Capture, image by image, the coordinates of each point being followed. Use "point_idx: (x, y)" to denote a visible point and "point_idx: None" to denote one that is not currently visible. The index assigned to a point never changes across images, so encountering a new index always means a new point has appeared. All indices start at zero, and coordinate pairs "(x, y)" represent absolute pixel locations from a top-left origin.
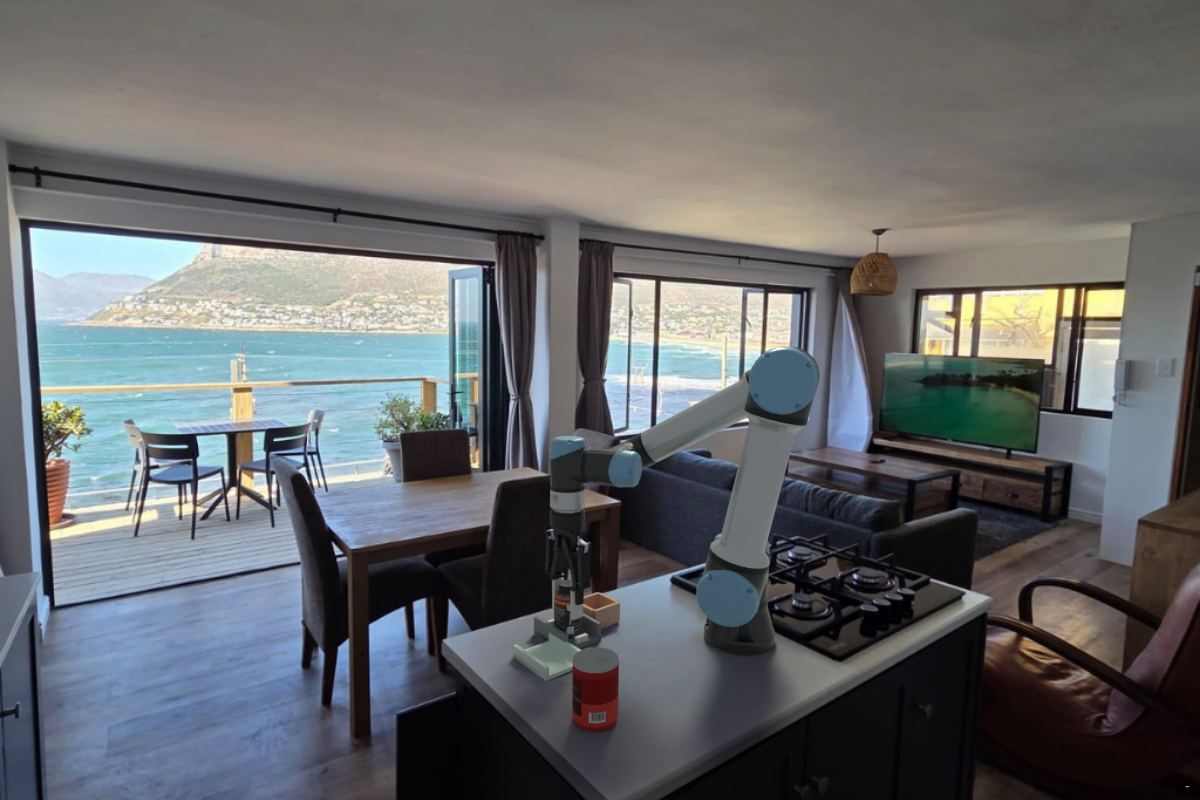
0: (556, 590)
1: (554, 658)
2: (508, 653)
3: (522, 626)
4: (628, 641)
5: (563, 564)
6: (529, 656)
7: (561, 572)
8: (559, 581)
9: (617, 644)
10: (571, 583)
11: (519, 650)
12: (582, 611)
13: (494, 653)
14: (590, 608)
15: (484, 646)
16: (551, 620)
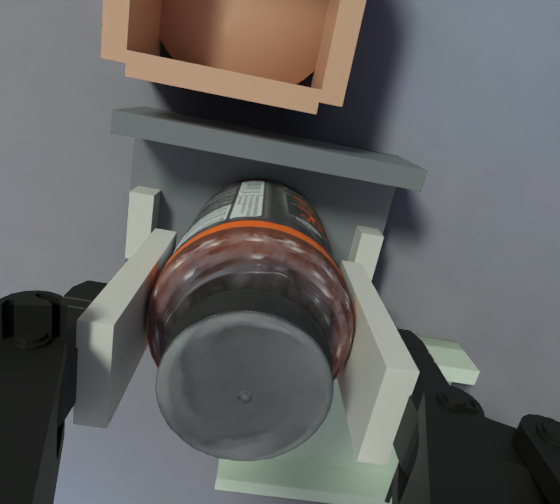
0: (136, 350)
1: None
2: (184, 444)
3: (32, 284)
4: (514, 70)
5: (42, 463)
6: (321, 501)
7: (61, 375)
8: (116, 366)
9: (482, 132)
10: (280, 384)
11: (257, 491)
12: (367, 276)
13: (150, 470)
14: (287, 93)
15: (83, 463)
16: (137, 240)
